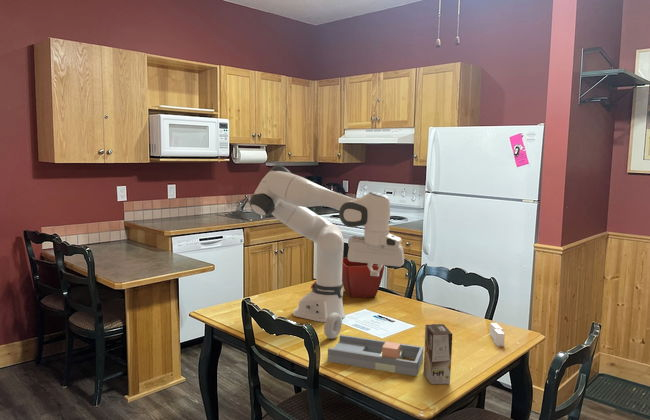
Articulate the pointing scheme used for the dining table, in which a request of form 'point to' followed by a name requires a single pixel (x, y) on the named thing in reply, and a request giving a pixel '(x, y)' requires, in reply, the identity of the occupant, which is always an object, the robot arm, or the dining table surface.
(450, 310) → the dining table surface
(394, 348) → the block
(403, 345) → the tray
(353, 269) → the plant pot
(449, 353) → the coffee box
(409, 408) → the dining table surface
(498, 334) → the napkin holder
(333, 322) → the grey wheel
